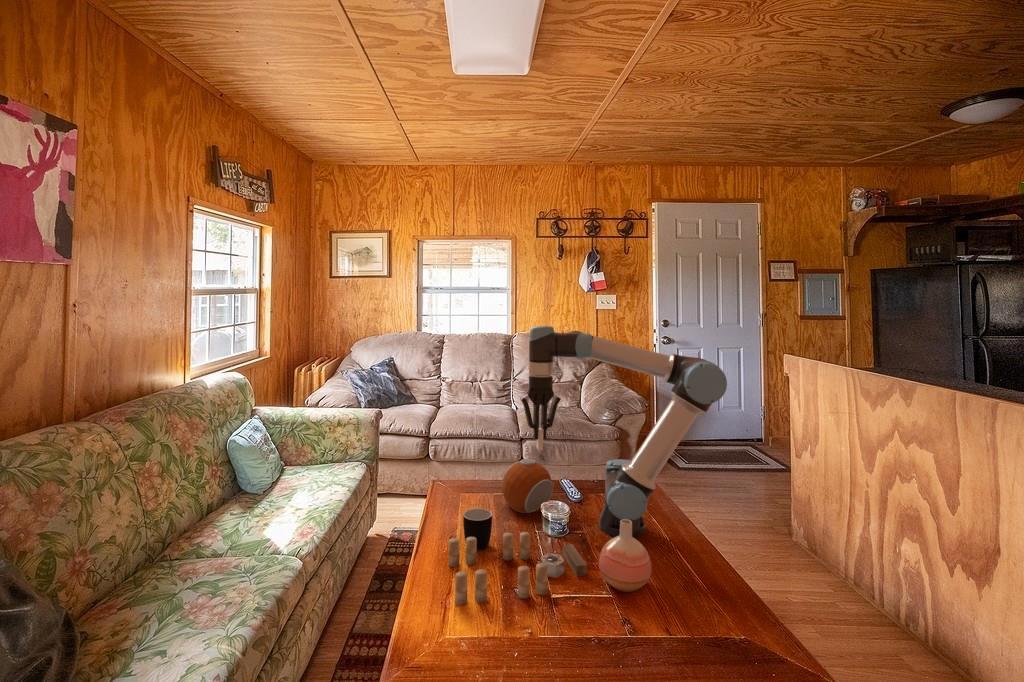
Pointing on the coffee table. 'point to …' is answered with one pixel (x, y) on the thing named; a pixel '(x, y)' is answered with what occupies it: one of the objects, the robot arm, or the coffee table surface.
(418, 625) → the coffee table surface
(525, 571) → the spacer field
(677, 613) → the coffee table surface
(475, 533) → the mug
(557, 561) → the nut
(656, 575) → the coffee table surface
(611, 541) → the vase
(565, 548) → the rail
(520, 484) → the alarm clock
